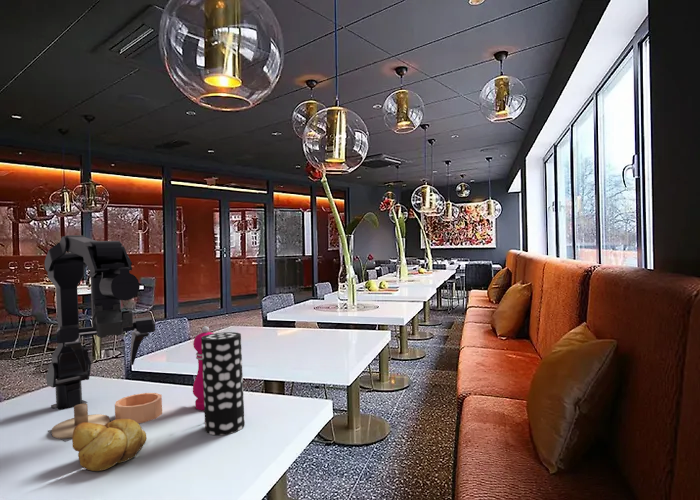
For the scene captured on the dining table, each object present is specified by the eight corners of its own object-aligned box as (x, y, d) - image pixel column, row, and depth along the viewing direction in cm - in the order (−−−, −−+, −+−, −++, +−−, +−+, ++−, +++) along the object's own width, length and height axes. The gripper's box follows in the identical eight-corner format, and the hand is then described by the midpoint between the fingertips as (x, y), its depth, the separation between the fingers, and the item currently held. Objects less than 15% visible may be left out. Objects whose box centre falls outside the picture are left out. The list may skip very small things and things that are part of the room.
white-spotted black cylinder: (252, 422, 100) (248, 333, 100) (227, 437, 93) (223, 340, 92) (223, 418, 104) (219, 331, 103) (196, 432, 96) (192, 338, 96)
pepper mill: (214, 411, 108) (211, 328, 108) (187, 410, 109) (184, 328, 109) (228, 401, 115) (225, 323, 115) (203, 400, 116) (199, 323, 116)
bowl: (108, 420, 105) (107, 402, 105) (149, 407, 112) (148, 390, 112) (128, 430, 99) (127, 410, 99) (170, 415, 106) (169, 397, 106)
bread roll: (135, 441, 93) (134, 402, 93) (162, 452, 87) (160, 411, 87) (67, 467, 82) (65, 423, 82) (92, 481, 77) (90, 435, 77)
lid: (44, 431, 98) (43, 408, 98) (97, 415, 107) (96, 394, 107) (63, 443, 92) (62, 418, 92) (118, 425, 100) (117, 402, 100)
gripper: (55, 305, 87) (58, 385, 87) (158, 297, 97) (160, 369, 97) (55, 300, 96) (58, 372, 97) (149, 293, 106) (152, 358, 107)
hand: (108, 368), depth 99 cm, fingers open, 9 cm apart
